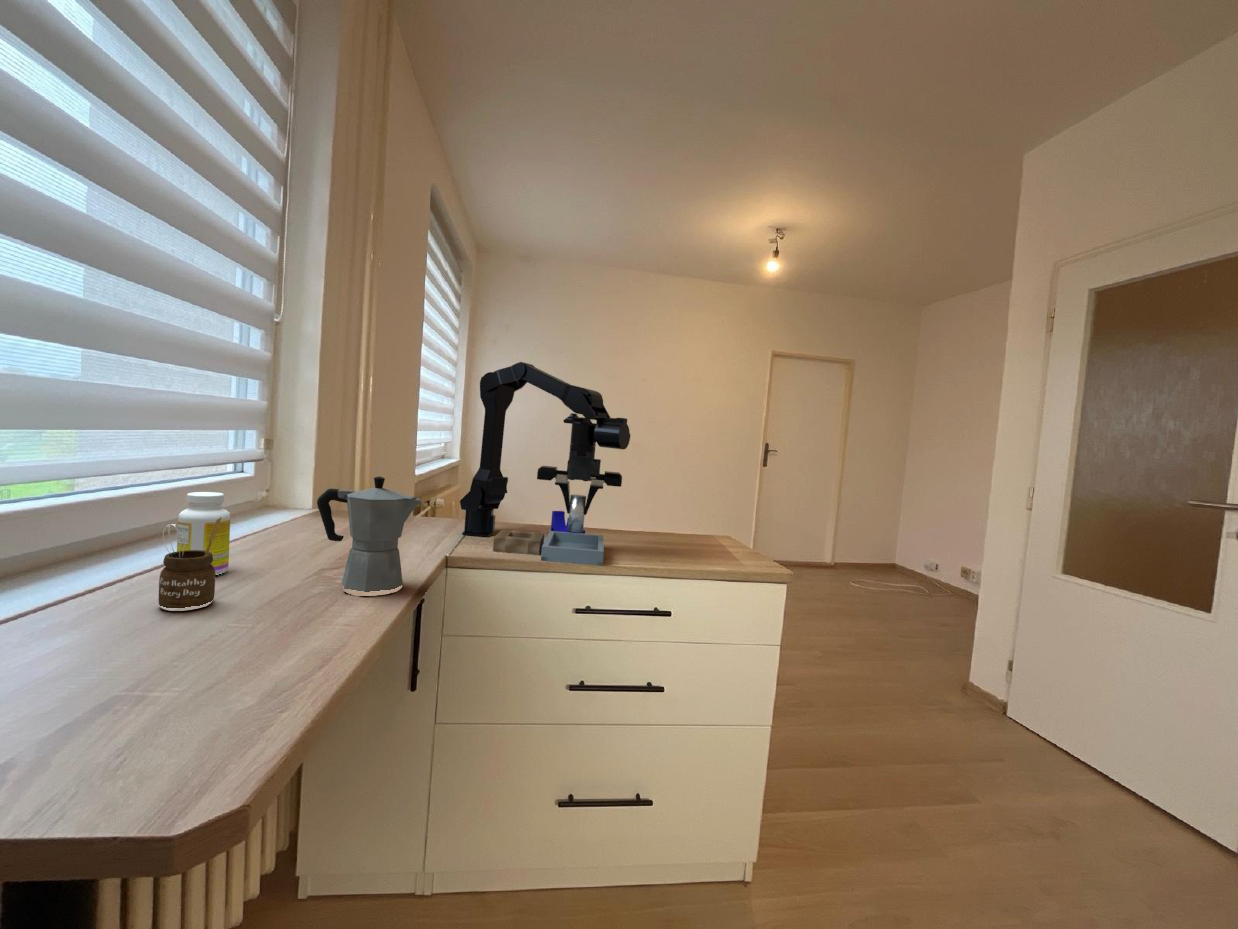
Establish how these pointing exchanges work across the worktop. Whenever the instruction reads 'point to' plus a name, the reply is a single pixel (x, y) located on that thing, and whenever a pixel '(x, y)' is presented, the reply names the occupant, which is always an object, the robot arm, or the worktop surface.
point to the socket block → (518, 542)
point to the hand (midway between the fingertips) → (576, 514)
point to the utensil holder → (187, 575)
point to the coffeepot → (370, 534)
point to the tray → (573, 548)
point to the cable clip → (560, 522)
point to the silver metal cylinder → (576, 513)
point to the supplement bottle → (205, 527)
